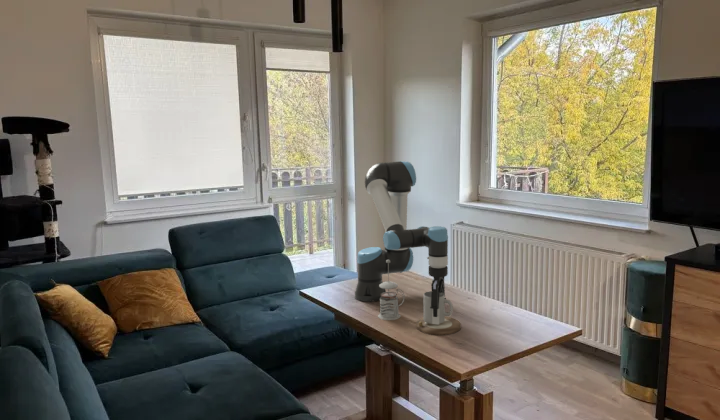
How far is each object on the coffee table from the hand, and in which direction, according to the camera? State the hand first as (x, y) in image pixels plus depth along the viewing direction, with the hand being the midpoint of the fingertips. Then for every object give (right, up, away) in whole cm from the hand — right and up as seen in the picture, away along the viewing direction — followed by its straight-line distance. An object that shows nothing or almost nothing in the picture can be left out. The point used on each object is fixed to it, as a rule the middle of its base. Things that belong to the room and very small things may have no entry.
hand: (438, 319), depth 211 cm
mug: (0, -1, 0) cm, 1 cm away
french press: (-18, -1, +13) cm, 23 cm away
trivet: (0, -3, 0) cm, 3 cm away
